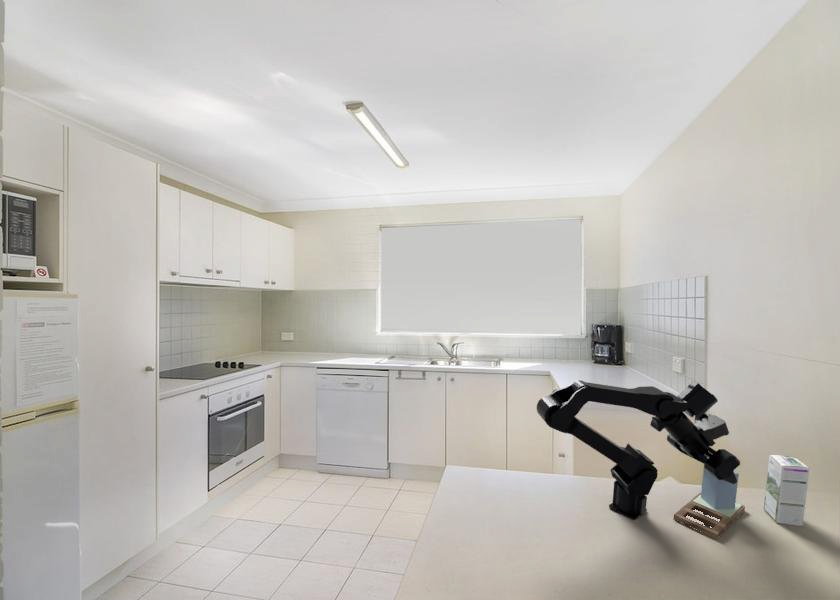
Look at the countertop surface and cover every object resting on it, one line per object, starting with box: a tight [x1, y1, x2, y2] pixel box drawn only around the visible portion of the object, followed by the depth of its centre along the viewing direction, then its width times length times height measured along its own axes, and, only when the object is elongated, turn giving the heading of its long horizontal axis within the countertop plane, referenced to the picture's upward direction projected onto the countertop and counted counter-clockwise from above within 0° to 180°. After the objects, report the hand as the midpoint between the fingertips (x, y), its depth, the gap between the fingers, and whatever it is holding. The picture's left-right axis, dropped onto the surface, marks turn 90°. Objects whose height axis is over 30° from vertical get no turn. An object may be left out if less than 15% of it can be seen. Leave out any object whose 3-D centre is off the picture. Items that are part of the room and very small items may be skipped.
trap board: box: [673, 492, 746, 540], centre depth 107 cm, size 9×18×1 cm, turn 128°
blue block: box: [700, 467, 739, 509], centre depth 109 cm, size 5×5×9 cm
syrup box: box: [763, 454, 810, 527], centre depth 106 cm, size 6×6×14 cm
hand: (721, 472), depth 109 cm, fingers open, 9 cm apart
